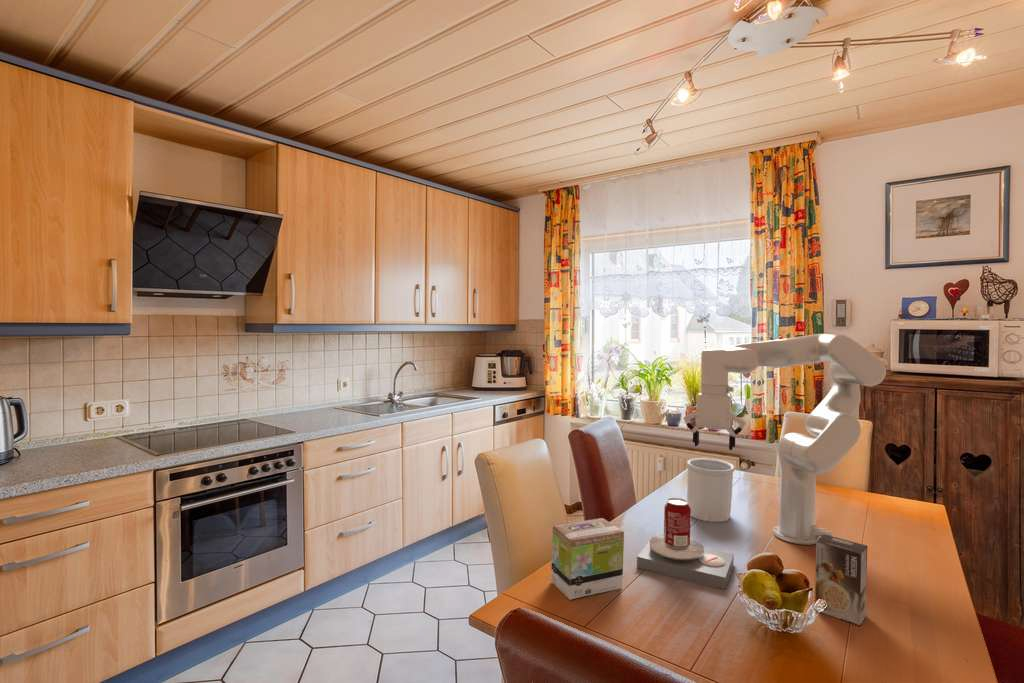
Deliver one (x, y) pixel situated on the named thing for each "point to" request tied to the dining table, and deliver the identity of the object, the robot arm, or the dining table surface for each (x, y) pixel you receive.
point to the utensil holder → (710, 489)
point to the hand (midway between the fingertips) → (713, 447)
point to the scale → (690, 566)
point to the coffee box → (841, 578)
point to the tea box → (587, 557)
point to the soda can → (677, 523)
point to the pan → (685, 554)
